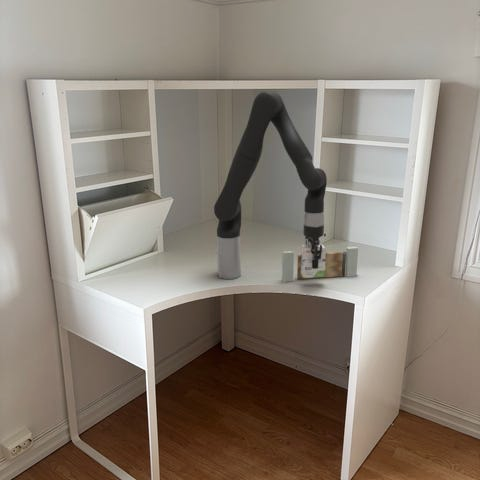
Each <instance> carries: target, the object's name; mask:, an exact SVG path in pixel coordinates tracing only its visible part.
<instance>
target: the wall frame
mask: <svg viewBox="0 0 480 480" xmlns="http://www.w3.org/2000/svg"><path fill="white" fill-rule="evenodd" d="M345 252H346V266H345V276H346V278H350V277H357V275H358V274H357V271H358V258H359V255H358V254H359V247H357V246H347V247H346V251H345ZM294 254H295V252H294V251H293V250H286V251H284V250H283V251H282V257H281V258H282V261H281V262H282V263H281V264H282V266H281V267H282V268H281V269H282V270H281V271H282V274H281V280H282V282H283V283H287V282H294V263H295V262H294V259H295V255H294Z"/></svg>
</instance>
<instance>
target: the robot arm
mask: <svg viewBox="0 0 480 480" xmlns="http://www.w3.org/2000/svg"><path fill="white" fill-rule="evenodd" d="M270 123H272V125H273V126H274V127H275V129H276V130H277V132H278V134H279V137H280V139H281V142H282V145H283V147H284V149H285V152H286V153H287V156H288V157H289V158H290V160H291V162H292V163H293V165H294V166H295V168H296V172H297V174H298V177H299V180H300V182H301V184H302V185H303V186H304V188H305V189H307V194H306V196H305V198H304V213H303V235H304V239H305V245H308V246H310V248H311V253H312V268H313V269H317V268H318V259H321V253H322V245H320V244H321V241H320V238H322V237H323V236H324V235H325V234H324V233H325V232H324V231H325V214H324V211H325V210H324V209H325V196H326V195H325V194H326V189H327V183H328V182H327V180H328V178H327V174H326V172H325V171H324V170H323V169H321V168H320V167H315V165H314V163H313V156H312V154H311V152H310V150H309V149H308V147H307V146H306V144H305V142H304V140H303V139H302V138H301V136H300V134H299V133H298V131H297V128H296V127H295V125H294V123H293V122H292V120H291V117H290V116H289V113H288V110H287V108H286V106H285V102H284V101H283V98H282V96H281V95H280V94H279V93H277V92H275V91H270V90H269V91H268V90H264V91H261V92H259V93H258V94H257V95H256V97H255V98H254V100H253V103H252V105H251V110H250V114H249V118H248V121H247V125H246V127H245V130H244V132H243V133H242V135H241V139H240V141H239V143H238V146H237V148H236V151H235V153H234V156H233V158H232V162H231V165H230V167H229V170H228V174H227V177H226V180H225V183H224V186H223V188H222V190H221V192H220V194H219V196H218V197H217V200H216V202H215V203H214V206H213V212H214V213H213V214H214V216H215V217H216V219H218V224H217V228H216V242H217V243H216V244H217V245H216V246H217V247H216V248H217V251H216V263H217V268H216V269H217V276H218V279H224V280H234V279H238V278H239V277H240V276H241V275H242V273H241V272H242V271H241V268H242V266H241V227H242V204H241V203H242V202H241V201H240V199H241V197H242V195H243V192H244V190H245V188H246V187H247V184H248V183H249V182H250V180H251V178H252V177H253V175H254V173H255V171H256V169H257V166H258V164H259V162H260V159H261V156H262V154H263V153H262V152H263V147H264V138H265V134H266V131H267V128H268V127H269V124H270ZM312 249H313V250H314V251H313V250H312ZM316 255H317V256H316Z"/></svg>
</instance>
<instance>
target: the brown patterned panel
mask: <svg viewBox="0 0 480 480" xmlns="http://www.w3.org/2000/svg"><path fill="white" fill-rule="evenodd" d="M296 265H297V270H296V271H297V274H296V276H297V277H296V279H298V280H299V279H300V280H303V279H305V278H303V276H302V274H301V253H298V254H297V264H296ZM345 269H346V251H334V252H333V251H332V252H325V277H324V278H333V277H334V278H335V277H345V276H346V275H345ZM319 278H322V277H308V278H307V279H319Z"/></svg>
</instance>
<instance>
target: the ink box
mask: <svg viewBox="0 0 480 480" xmlns="http://www.w3.org/2000/svg"><path fill="white" fill-rule="evenodd" d="M320 245H322V253H321V259H318V268H317V269H313V268H312V253H311V248H310V246H308V245H306V244H301V245H300V247H301V248H300V249H301V252H300V254H301V274H302V276H303V278H304V279H309V278H308V277H321V278H326V277H325V253H326V247H325V246H324V244H322V243H320ZM312 250H313V249H312ZM313 251H314V250H313ZM316 256H317V255H316Z"/></svg>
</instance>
